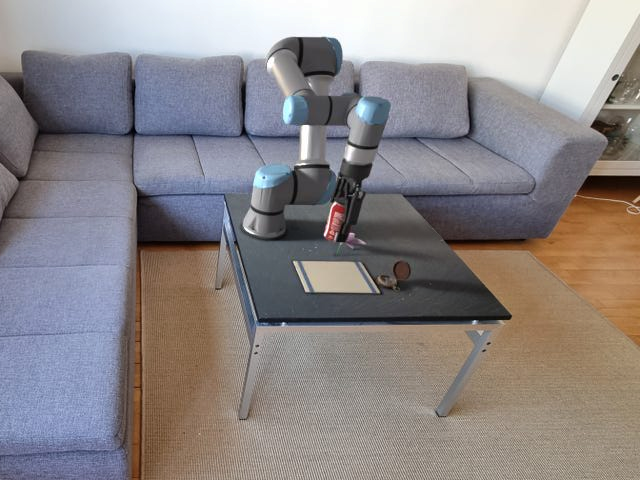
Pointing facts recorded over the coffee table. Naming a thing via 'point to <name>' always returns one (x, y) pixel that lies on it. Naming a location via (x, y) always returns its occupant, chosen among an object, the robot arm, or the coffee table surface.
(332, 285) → the cloth
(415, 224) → the coffee table surface
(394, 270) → the compass
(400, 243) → the coffee table surface
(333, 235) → the soda can
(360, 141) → the robot arm
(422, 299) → the coffee table surface
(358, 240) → the lily
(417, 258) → the coffee table surface
